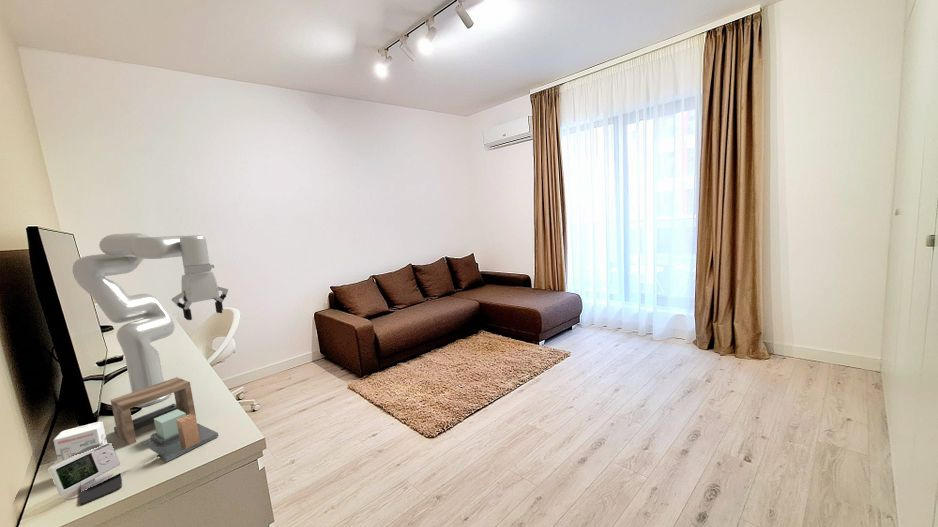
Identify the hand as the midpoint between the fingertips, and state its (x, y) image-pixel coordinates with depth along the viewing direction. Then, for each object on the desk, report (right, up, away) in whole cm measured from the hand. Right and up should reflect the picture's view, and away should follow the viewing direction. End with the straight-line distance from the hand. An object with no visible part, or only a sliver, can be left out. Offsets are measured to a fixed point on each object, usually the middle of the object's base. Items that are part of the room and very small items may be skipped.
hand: (204, 316), depth 131 cm
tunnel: (-5, -35, -14) cm, 38 cm away
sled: (+9, -35, -22) cm, 42 cm away
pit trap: (-11, -35, -10) cm, 38 cm away
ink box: (-9, -38, -32) cm, 50 cm away
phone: (+2, -38, -38) cm, 54 cm away
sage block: (+5, -34, -20) cm, 39 cm away
